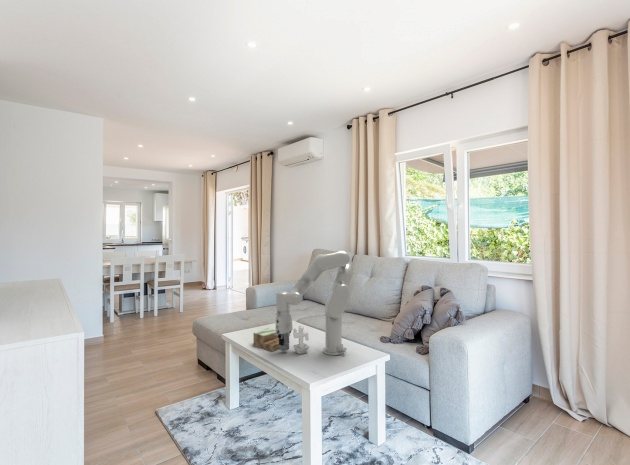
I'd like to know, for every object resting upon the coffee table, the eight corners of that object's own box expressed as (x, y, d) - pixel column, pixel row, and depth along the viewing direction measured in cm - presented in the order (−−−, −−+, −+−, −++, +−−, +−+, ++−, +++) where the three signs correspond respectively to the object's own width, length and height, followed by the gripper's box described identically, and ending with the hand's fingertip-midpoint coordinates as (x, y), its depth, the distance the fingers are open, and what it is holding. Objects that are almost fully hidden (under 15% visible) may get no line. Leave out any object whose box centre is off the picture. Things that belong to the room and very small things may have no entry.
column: (289, 348, 195) (288, 328, 195) (284, 351, 192) (283, 330, 192) (284, 347, 198) (283, 327, 198) (279, 349, 195) (278, 329, 195)
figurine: (311, 352, 195) (311, 327, 195) (296, 355, 190) (296, 329, 190) (305, 348, 201) (305, 324, 201) (291, 351, 196) (291, 326, 196)
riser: (286, 346, 206) (286, 333, 206) (272, 351, 196) (272, 338, 196) (267, 340, 216) (267, 328, 216) (253, 345, 207) (253, 332, 207)
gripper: (277, 316, 186) (278, 349, 186) (297, 310, 199) (298, 341, 199) (268, 315, 191) (269, 346, 191) (288, 308, 204) (289, 338, 204)
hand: (284, 343), depth 195 cm, fingers closed on column, 4 cm apart
